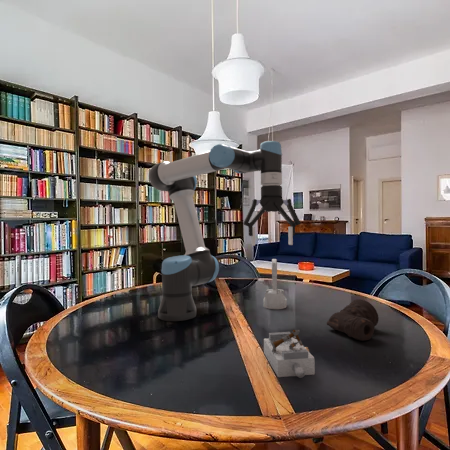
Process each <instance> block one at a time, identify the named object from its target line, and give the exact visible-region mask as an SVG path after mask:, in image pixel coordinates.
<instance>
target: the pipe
mask: <svg viewBox="0 0 450 450" xmlns="http://www.w3.org/2000/svg"><path fill="white" fill-rule="evenodd" d="M378 323H379V313H378V312H377V310H376V308H375V306H373V305H372V303H370V302H368V301H367V300H365V299H359V298H358V299H357V298H356V299H354V300H352V301H351V302H350V303H349V304H348V305H346V306H344V308H343V309H340V311H337V312H335V313H333V314H332V315H331V316H330V317H329V318H328V320H327V321H326V325H327V326H328V327H330V328H331V329H333V330H335V331H337V332H340V333H344V334H346V335H347V336H348V337H349V338H353V339H354V340H357V341H362V342H364V341H365V342H366V341H369V340H371V338H372V337H373V335H374V333H375V327H376V326H377V325H378Z"/></svg>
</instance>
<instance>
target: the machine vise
mask: <svg viewBox="0 0 450 450" xmlns="http://www.w3.org/2000/svg"><path fill="white" fill-rule="evenodd" d="M291 333H292V332H291V331H280V332H268V338H263V353H264V355H265V357H266V359H267V361H268V362H269V364H270V366H271V368H272V370H273V371H274V373H275V374H276V376H277V378H283V377H284V378H287V377H298V378H300V379H301V378H303V377H305V376H310V375H312V376H314V375H315V373H316V372H315V371H316V370H315V369H316V367H315V366H316V365H315V357H314V356H313V355H312V354H311V352H310V349H309V347H308V346H305V345H304V344H302V346H301V345H300V344H299V343H298V344H296V346H295V347H293V348H292V347H291V348H289V345H290V344H291V343H293V342H294V343H296V342H298V340H297V339H295V338H296V336H294V337H295V338H290V340H289V339H288V341H286V342H283V343H282V344H280V345H279V346H278V347H276V350H275V349H274V348H273V346H272V344H271V341H272V342H275V341H278V340H280V339H282V338H283V337H285V336H287V335H289V334H291Z"/></svg>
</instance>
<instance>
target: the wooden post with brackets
mask: <svg viewBox="0 0 450 450" xmlns="http://www.w3.org/2000/svg"><path fill="white" fill-rule="evenodd" d="M290 333H291V334H289V335H287V336H285V337H283V338H282V339H280V340H278V341H275V342H272V341H271V344H272V346H273V348H274V349H275V350H276V347H278V346H279V345H280V344H282V343H283V342H286V341H288V339H289V340H290V338H295V337H296V338H295V339H297V340H298V342H296V343H294V342H293V343H291V344H290V345H289V348H291V347H292V348H293V347H295V346H296V344H298V343H299V344H300V345H301V346H302V345H303V342H302V340H301V339H300V336H299V334H300V329H293V330H292V331H291V332H290Z"/></svg>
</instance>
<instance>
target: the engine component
mask: <svg viewBox="0 0 450 450" xmlns="http://www.w3.org/2000/svg"><path fill="white" fill-rule="evenodd" d="M271 284H272V287H271V288H270V289H266V291H265V293H264V297H263V303H262V304H263V307H264V308H265V309H270V310H283V309H285V308H287V305H288V304H287V301H288V300H287V297H286V295H285V290H284V289H279V288H278V259H277V258H272V259H271Z"/></svg>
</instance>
